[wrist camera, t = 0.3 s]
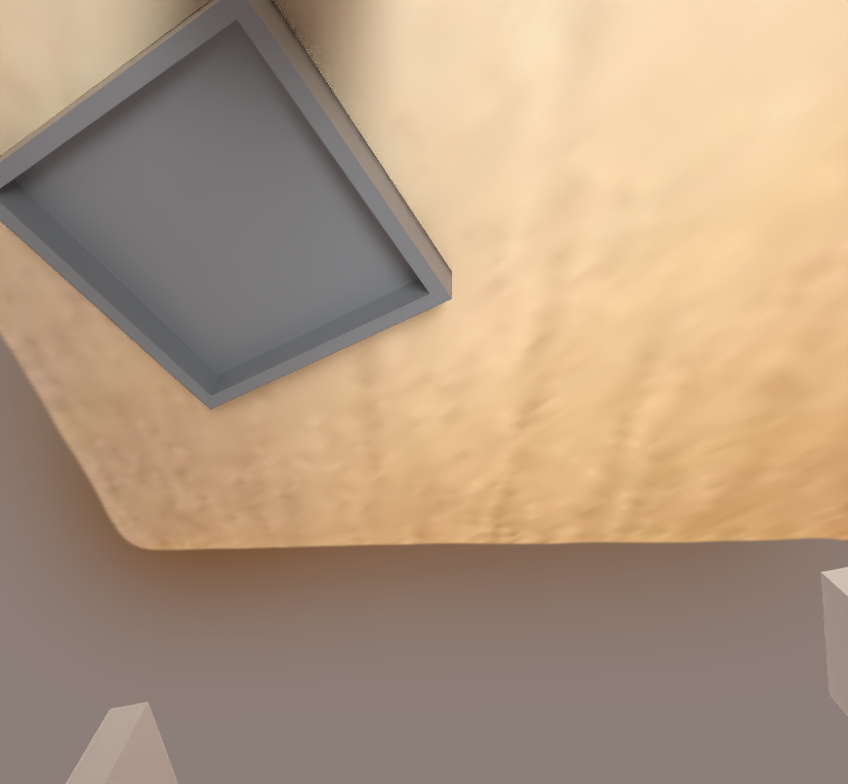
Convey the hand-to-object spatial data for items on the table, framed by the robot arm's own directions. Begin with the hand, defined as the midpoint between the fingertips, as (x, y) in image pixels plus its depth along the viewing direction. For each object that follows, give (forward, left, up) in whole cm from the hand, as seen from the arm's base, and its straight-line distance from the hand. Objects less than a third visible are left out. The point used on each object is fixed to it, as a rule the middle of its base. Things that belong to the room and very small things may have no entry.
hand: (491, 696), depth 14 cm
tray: (+1, -16, -33) cm, 37 cm away
